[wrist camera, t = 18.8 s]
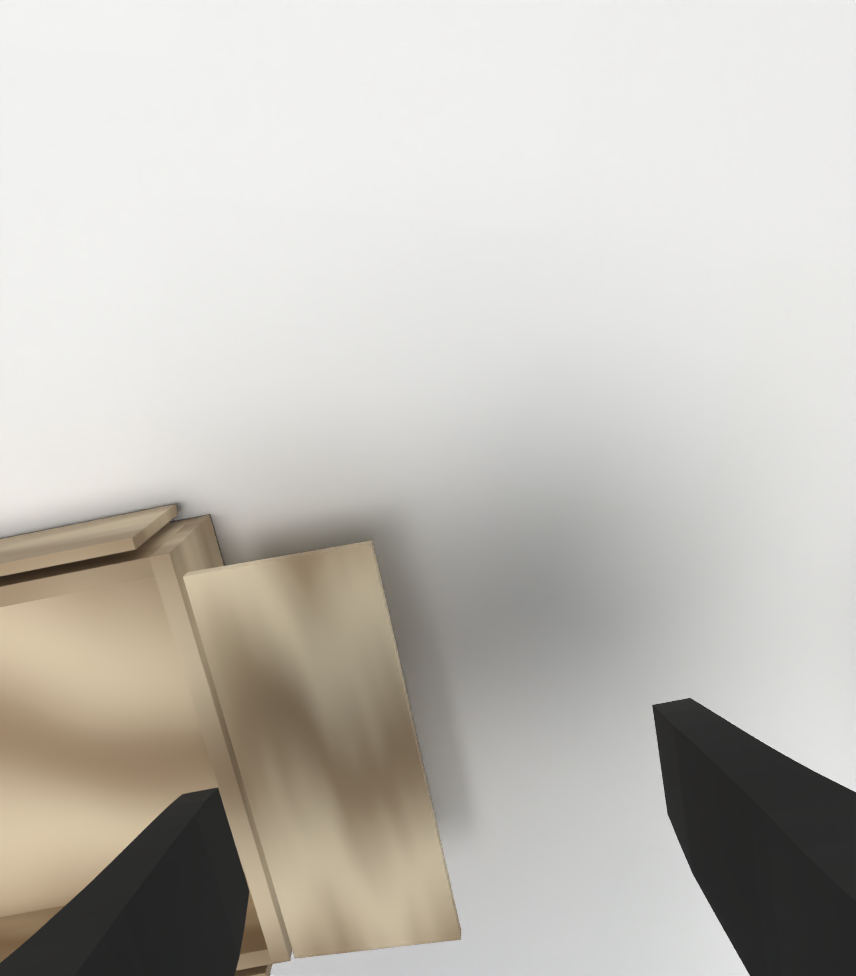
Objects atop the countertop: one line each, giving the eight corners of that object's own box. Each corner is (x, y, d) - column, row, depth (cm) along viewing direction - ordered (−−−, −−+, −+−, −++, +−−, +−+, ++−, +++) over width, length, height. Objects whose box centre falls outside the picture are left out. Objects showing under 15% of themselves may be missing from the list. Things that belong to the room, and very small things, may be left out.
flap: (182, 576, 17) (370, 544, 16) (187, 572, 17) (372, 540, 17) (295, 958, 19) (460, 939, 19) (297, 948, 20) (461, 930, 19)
